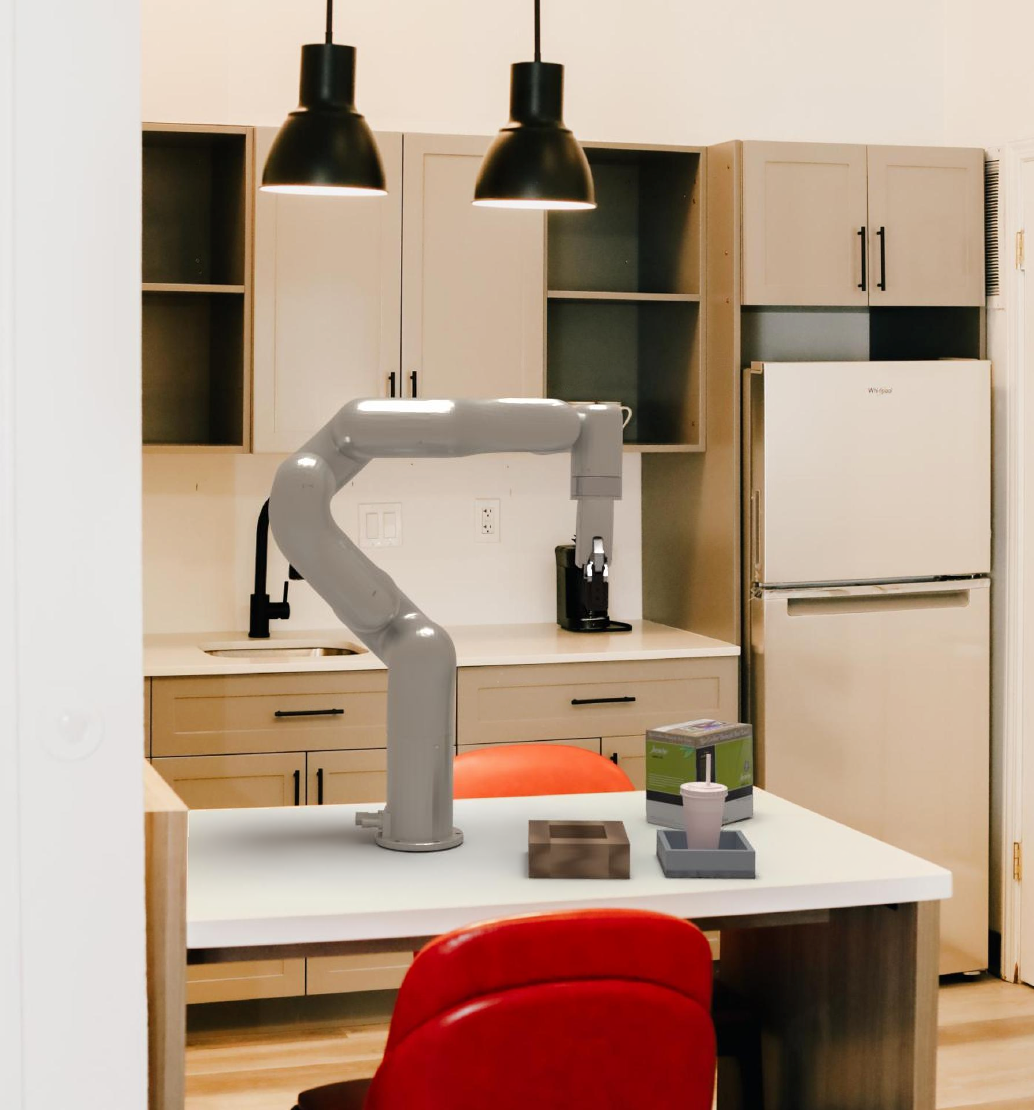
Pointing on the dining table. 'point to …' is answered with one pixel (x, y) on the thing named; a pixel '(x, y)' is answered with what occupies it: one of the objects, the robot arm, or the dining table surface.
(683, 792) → the smoothie
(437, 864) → the dining table surface
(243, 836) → the dining table surface
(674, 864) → the tray
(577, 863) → the socket holder
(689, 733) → the tea box
